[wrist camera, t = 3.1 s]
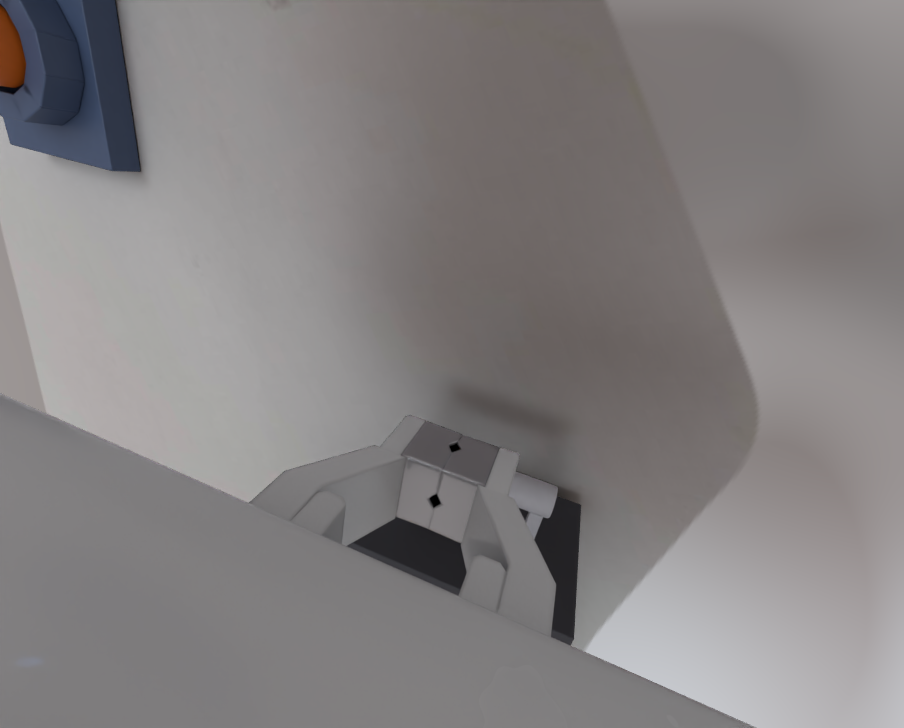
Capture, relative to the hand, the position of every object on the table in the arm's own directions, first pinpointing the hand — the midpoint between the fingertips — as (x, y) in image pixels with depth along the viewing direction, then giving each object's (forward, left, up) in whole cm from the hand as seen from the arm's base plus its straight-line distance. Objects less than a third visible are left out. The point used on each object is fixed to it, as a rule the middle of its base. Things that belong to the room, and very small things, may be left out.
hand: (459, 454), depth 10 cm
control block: (-7, -29, -12) cm, 32 cm away
